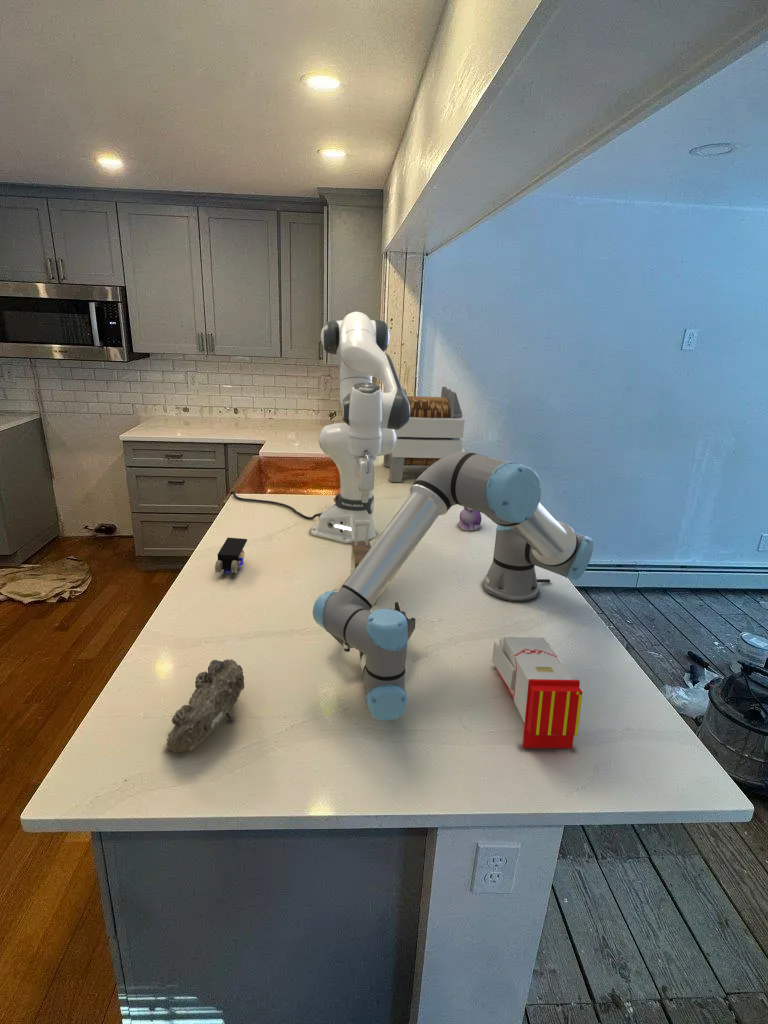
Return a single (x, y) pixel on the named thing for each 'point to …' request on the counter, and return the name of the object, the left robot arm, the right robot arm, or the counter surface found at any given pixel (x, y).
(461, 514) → the figurine
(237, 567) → the figurine character
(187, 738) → the fossil
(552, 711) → the toy
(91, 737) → the counter surface
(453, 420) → the transformer
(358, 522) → the door
